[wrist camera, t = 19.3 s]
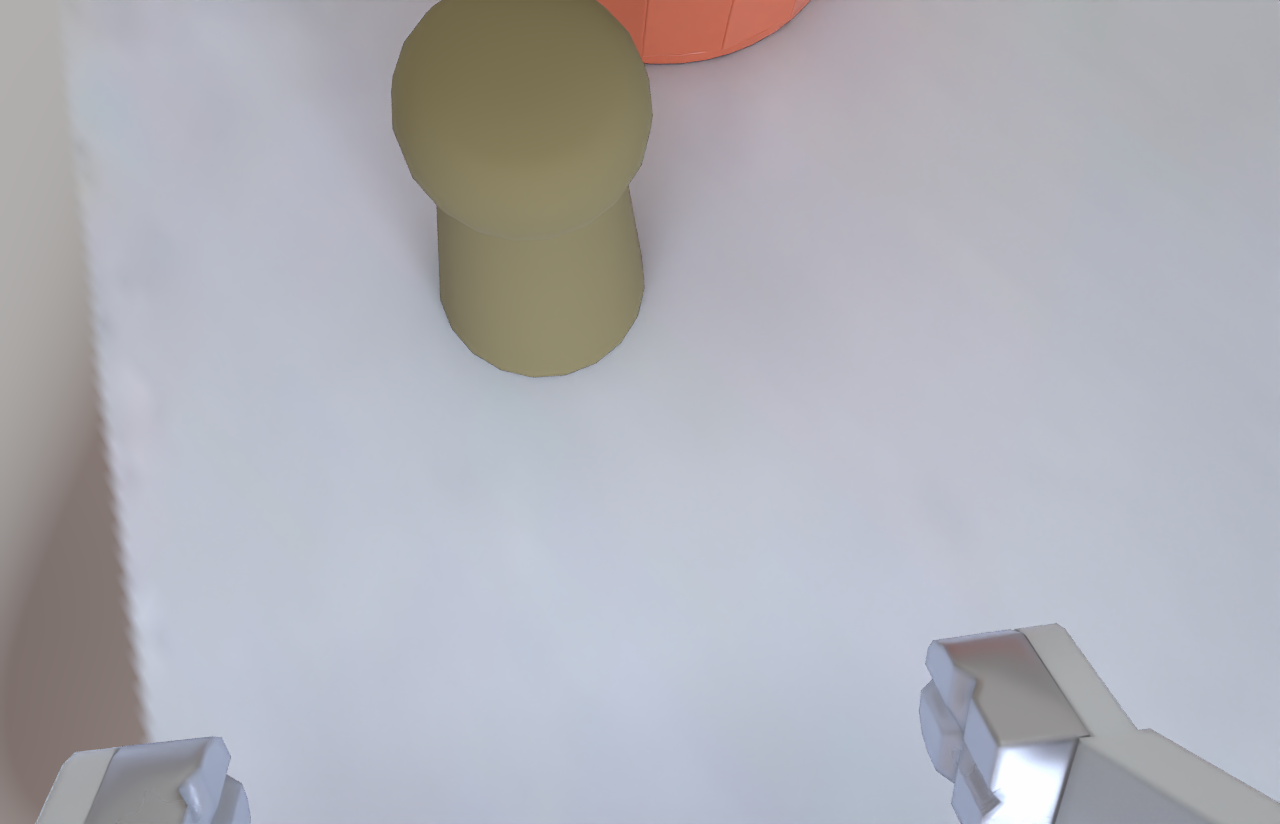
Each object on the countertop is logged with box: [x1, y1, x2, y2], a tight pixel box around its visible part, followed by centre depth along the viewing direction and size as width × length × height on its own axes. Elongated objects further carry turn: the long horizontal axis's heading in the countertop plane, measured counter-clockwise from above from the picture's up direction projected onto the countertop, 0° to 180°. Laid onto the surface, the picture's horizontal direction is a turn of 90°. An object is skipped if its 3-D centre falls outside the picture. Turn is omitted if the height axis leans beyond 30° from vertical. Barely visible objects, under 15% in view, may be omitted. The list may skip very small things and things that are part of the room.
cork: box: [391, 0, 653, 377], centre depth 23 cm, size 6×6×11 cm
